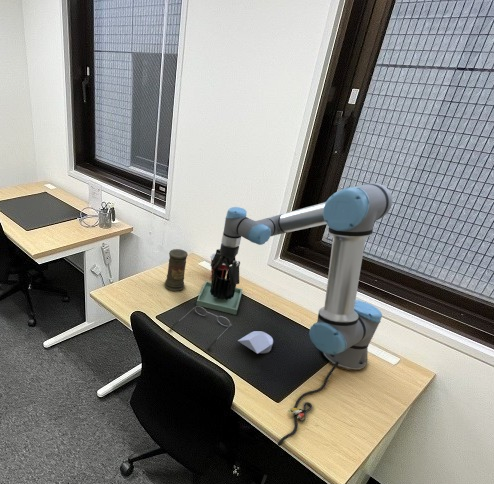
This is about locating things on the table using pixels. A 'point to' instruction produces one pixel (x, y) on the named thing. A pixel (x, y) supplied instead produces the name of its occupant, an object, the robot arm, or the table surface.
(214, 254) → the plastic cup
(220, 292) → the pen pot
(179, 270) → the container
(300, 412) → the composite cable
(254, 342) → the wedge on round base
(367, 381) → the table surface
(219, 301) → the desk tray
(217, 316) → the eyeglasses
